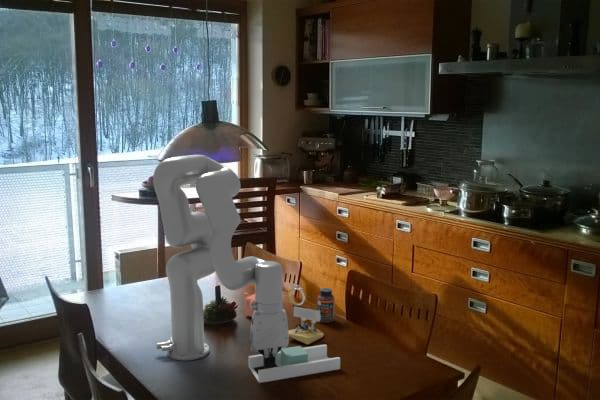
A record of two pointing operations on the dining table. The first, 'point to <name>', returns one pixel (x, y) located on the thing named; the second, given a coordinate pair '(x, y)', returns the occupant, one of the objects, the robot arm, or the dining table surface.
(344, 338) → the dining table surface
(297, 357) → the green block
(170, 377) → the dining table surface
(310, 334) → the figurine with sign
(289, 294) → the ring
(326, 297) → the supplement bottle
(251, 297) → the pink cube
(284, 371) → the trough
